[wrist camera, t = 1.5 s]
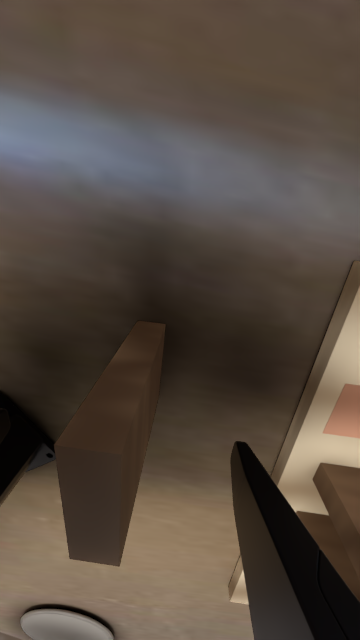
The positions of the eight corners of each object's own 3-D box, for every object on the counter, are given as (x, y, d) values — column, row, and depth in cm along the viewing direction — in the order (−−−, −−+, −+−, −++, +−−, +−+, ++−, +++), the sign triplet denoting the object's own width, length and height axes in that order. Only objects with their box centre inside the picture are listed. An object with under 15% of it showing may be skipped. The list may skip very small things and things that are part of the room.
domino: (165, 324, 13) (121, 454, 5) (159, 395, 14) (119, 566, 7) (137, 320, 13) (53, 445, 5) (134, 391, 14) (69, 559, 7)
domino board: (318, 600, 22) (324, 616, 21) (228, 586, 22) (229, 601, 22) (548, 283, 10) (583, 288, 10) (354, 260, 11) (369, 263, 10)
